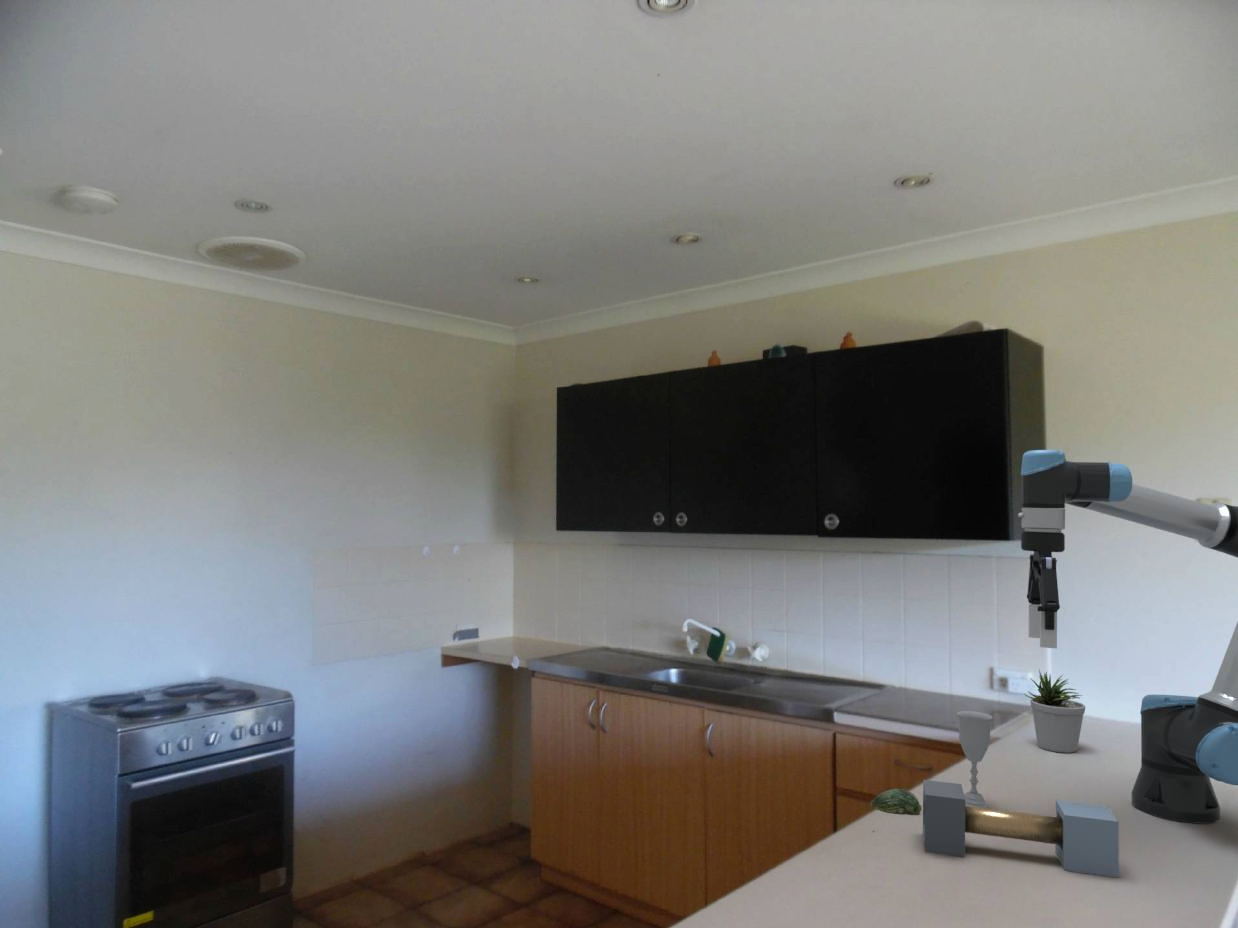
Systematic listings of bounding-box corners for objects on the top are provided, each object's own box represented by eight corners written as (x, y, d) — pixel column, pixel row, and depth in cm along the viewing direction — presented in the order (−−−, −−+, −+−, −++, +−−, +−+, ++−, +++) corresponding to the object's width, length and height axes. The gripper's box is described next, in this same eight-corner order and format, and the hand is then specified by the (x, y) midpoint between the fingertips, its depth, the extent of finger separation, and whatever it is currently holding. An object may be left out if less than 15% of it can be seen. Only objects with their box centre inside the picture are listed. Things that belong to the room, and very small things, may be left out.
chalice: (995, 813, 170) (996, 720, 171) (959, 809, 172) (960, 718, 173) (987, 801, 178) (988, 712, 179) (952, 797, 179) (953, 709, 180)
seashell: (896, 776, 179) (934, 791, 170) (897, 796, 179) (934, 812, 170) (859, 786, 175) (895, 802, 166) (860, 806, 175) (896, 823, 166)
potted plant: (1030, 738, 230) (1030, 662, 231) (1088, 748, 222) (1088, 669, 223) (1020, 748, 220) (1020, 668, 221) (1081, 758, 212) (1081, 676, 213)
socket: (960, 838, 156) (961, 783, 157) (964, 857, 148) (965, 799, 148) (922, 833, 158) (923, 779, 159) (924, 851, 150) (925, 794, 150)
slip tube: (1069, 840, 149) (1069, 815, 149) (1074, 850, 145) (1074, 823, 145) (932, 823, 156) (932, 798, 156) (933, 831, 152) (934, 806, 152)
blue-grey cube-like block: (1106, 859, 149) (1107, 805, 149) (1118, 877, 141) (1118, 821, 142) (1055, 852, 151) (1055, 799, 152) (1064, 869, 144) (1064, 814, 144)
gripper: (1012, 529, 179) (1011, 632, 178) (1031, 531, 155) (1030, 650, 154) (1052, 530, 177) (1052, 635, 175) (1078, 532, 153) (1077, 653, 152)
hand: (1042, 642), depth 165 cm, fingers open, 13 cm apart
